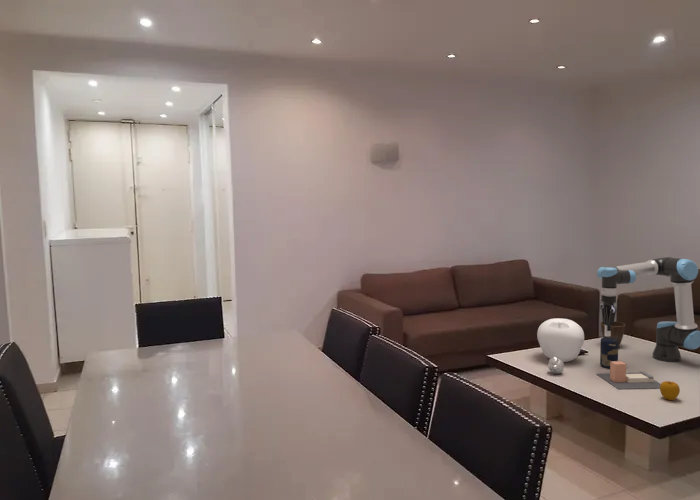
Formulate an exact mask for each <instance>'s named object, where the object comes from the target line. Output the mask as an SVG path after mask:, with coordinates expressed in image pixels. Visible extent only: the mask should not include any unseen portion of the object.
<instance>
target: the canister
mask: <svg viewBox="0 0 700 500" xmlns="http://www.w3.org/2000/svg"><path fill="white" fill-rule="evenodd" d="M599 353H600V356H599V364H600V366H601V367H603V368H607V369H610V361H619V347H618V340H617V339H615V338H610V337H604V338H603V337H602V338H601V339H600V350H599Z"/></svg>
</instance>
